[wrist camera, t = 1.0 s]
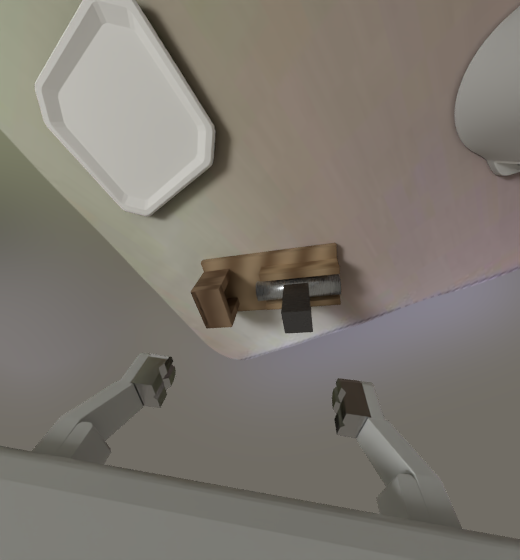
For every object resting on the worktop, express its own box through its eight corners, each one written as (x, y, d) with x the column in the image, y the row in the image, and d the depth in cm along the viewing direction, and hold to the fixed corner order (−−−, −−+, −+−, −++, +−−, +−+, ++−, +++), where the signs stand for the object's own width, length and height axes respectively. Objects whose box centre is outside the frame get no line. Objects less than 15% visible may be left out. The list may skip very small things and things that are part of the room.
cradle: (335, 242, 38) (343, 265, 31) (337, 300, 44) (344, 329, 37) (203, 259, 43) (186, 282, 36) (221, 309, 49) (209, 335, 42)
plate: (143, 222, 41) (136, 226, 39) (37, 103, 33) (21, 101, 31) (233, 150, 33) (229, 150, 31) (120, -33, 25) (106, -46, 23)
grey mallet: (337, 268, 38) (349, 307, 30) (337, 287, 40) (349, 330, 32) (257, 276, 41) (246, 314, 33) (261, 294, 43) (252, 334, 35)
